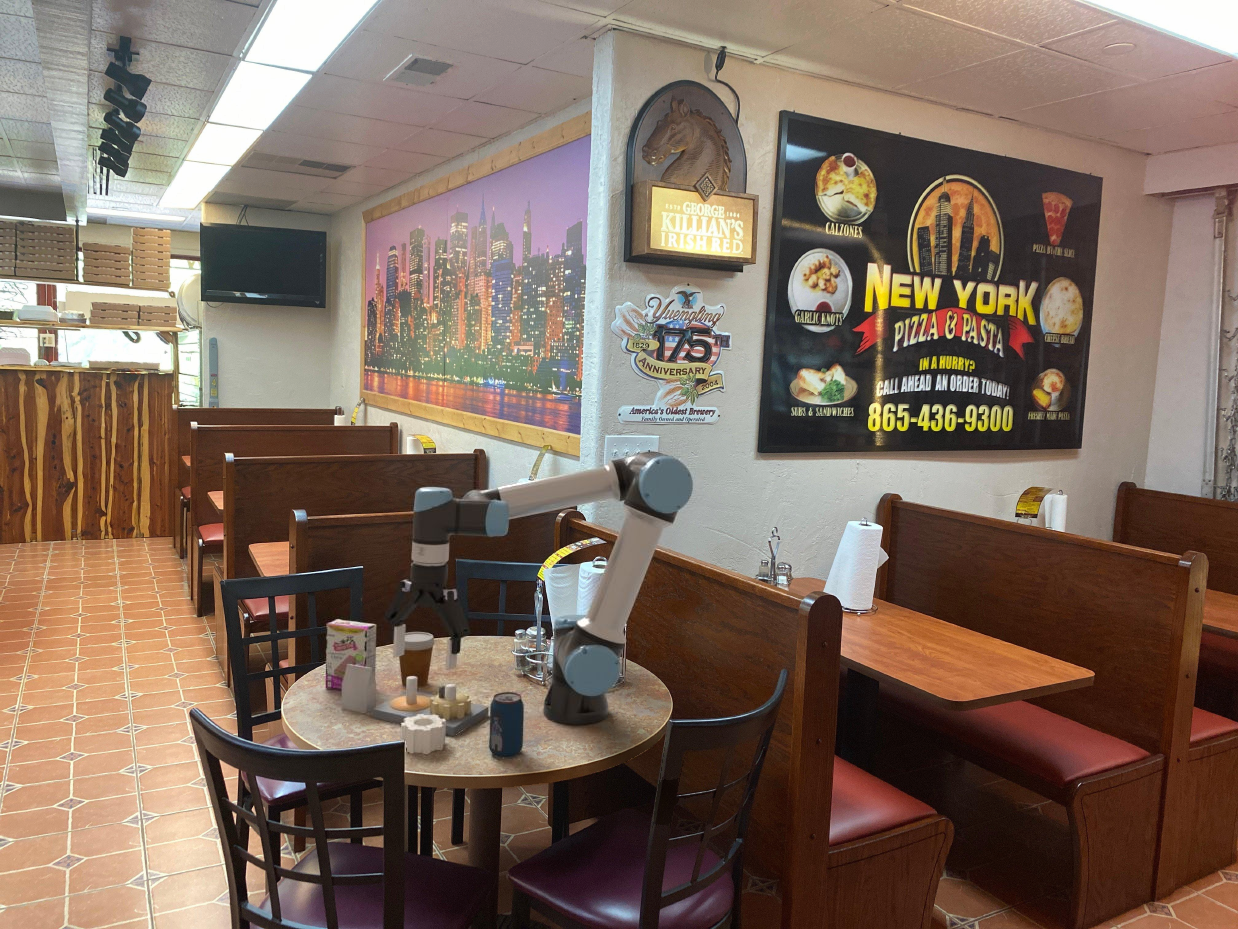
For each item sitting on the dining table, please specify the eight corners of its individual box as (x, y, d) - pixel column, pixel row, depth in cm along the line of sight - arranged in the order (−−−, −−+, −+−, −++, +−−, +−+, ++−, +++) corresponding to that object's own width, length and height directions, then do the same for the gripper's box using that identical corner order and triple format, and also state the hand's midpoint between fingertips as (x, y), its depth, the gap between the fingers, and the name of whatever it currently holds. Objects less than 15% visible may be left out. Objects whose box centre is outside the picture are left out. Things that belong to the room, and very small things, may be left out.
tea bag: (366, 713, 201) (367, 670, 200) (341, 708, 203) (342, 666, 202) (376, 708, 204) (376, 666, 203) (351, 703, 206) (352, 661, 206)
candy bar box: (324, 689, 215) (325, 623, 213) (335, 683, 219) (336, 618, 218) (365, 695, 212) (366, 628, 210) (376, 688, 217) (377, 623, 215)
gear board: (488, 715, 203) (489, 681, 202) (454, 736, 190) (454, 700, 189) (409, 698, 211) (410, 665, 211) (371, 717, 199) (372, 682, 198)
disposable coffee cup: (424, 691, 216) (425, 644, 215) (388, 687, 218) (389, 640, 217) (440, 679, 225) (441, 633, 224) (405, 675, 227) (406, 629, 226)
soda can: (523, 746, 186) (525, 691, 185) (521, 760, 179) (523, 703, 178) (490, 745, 186) (492, 690, 185) (486, 759, 179) (488, 702, 178)
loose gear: (453, 741, 187) (453, 719, 187) (428, 757, 179) (428, 733, 178) (418, 733, 191) (418, 711, 190) (392, 748, 182) (392, 725, 182)
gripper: (370, 556, 184) (365, 654, 186) (469, 574, 174) (463, 679, 176) (393, 551, 191) (389, 646, 193) (490, 568, 181) (484, 669, 182)
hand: (424, 662), depth 184 cm, fingers open, 13 cm apart
